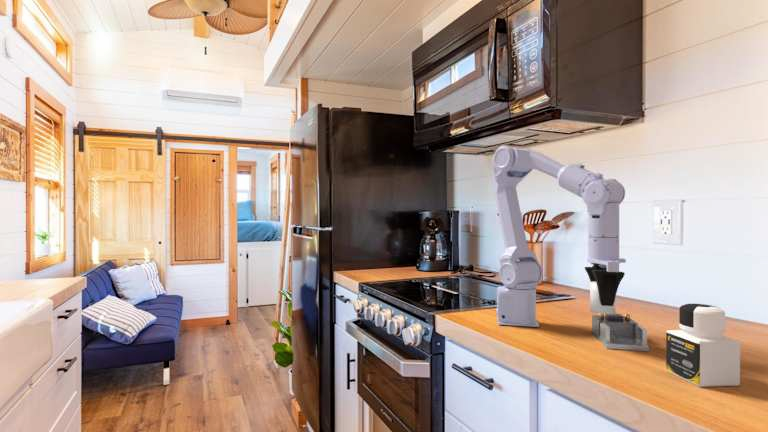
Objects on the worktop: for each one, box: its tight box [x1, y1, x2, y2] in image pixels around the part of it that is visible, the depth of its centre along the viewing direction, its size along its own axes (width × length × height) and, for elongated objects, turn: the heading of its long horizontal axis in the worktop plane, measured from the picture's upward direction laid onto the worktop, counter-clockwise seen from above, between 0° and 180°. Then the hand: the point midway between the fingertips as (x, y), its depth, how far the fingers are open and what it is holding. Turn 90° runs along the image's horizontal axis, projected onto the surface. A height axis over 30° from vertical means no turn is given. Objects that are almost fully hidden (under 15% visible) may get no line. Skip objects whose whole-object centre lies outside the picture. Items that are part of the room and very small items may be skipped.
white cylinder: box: [589, 281, 617, 315], centre depth 88 cm, size 5×5×7 cm
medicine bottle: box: [665, 303, 741, 388], centre depth 70 cm, size 7×7×12 cm
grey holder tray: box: [591, 313, 650, 352], centre depth 91 cm, size 8×12×5 cm, turn 167°
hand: (603, 303), depth 88 cm, fingers closed on white cylinder, 5 cm apart
